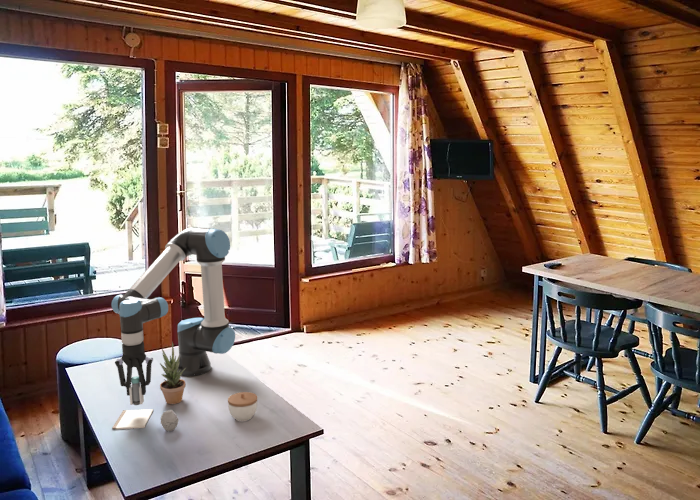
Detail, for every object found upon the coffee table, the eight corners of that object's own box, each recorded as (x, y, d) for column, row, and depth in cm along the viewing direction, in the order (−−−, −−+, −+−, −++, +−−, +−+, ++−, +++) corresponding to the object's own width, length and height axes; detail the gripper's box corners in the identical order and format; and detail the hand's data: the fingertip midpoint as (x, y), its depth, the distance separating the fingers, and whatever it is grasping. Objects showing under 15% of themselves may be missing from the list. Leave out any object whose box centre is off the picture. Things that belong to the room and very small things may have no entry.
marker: (142, 401, 220) (140, 376, 219) (140, 405, 218) (138, 379, 216) (134, 402, 220) (132, 376, 218) (132, 405, 217) (130, 379, 215)
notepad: (153, 410, 224) (153, 409, 224) (144, 428, 210) (144, 426, 210) (123, 411, 223) (123, 410, 223) (112, 429, 209) (112, 427, 209)
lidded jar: (230, 411, 223) (229, 388, 221) (259, 410, 224) (258, 387, 222) (226, 425, 212) (225, 400, 211) (257, 423, 213) (256, 399, 211)
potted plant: (163, 408, 226) (159, 346, 221) (159, 399, 234) (155, 339, 230) (190, 403, 230) (186, 342, 226) (184, 394, 239) (181, 335, 234)
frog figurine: (173, 423, 213) (172, 405, 212) (182, 430, 208) (181, 412, 207) (157, 429, 209) (156, 410, 208) (166, 436, 204) (165, 417, 203)
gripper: (157, 338, 219) (161, 397, 223) (113, 339, 218) (118, 399, 222) (152, 344, 212) (156, 406, 216) (107, 346, 210) (112, 408, 214)
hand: (137, 402), depth 219 cm, fingers closed on marker, 3 cm apart
